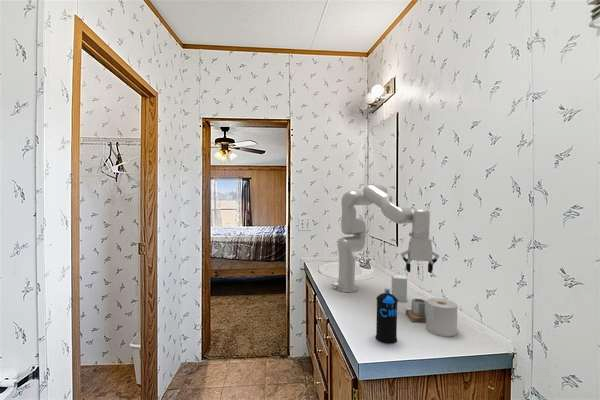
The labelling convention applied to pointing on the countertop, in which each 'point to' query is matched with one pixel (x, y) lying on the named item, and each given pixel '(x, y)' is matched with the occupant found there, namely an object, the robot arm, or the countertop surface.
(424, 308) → the hub
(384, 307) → the aerosol can
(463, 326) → the countertop surface
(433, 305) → the toilet paper roll
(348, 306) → the countertop surface
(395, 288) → the supplement box
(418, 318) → the shaft block
